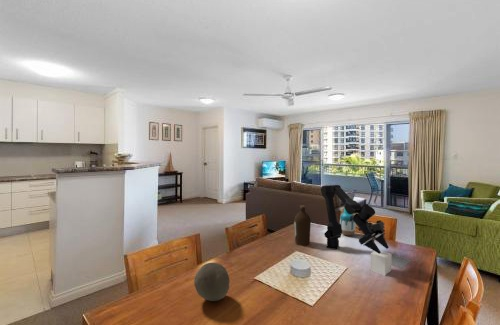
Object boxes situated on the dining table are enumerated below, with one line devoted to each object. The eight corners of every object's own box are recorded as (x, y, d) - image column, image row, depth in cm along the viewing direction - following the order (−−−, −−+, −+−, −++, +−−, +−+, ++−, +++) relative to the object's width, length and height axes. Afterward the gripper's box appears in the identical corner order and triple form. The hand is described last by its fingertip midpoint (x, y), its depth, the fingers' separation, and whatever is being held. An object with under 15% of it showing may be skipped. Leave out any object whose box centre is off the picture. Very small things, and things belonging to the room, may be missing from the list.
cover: (370, 270, 127) (370, 253, 127) (376, 266, 132) (376, 249, 131) (385, 275, 122) (385, 257, 121) (391, 271, 126) (391, 253, 126)
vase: (352, 232, 184) (353, 207, 183) (357, 237, 174) (358, 210, 173) (338, 232, 185) (338, 206, 184) (342, 237, 175) (342, 210, 174)
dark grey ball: (213, 286, 113) (213, 254, 112) (236, 298, 104) (236, 263, 103) (188, 301, 102) (187, 265, 101) (211, 315, 93) (210, 277, 92)
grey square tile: (374, 259, 139) (374, 259, 139) (384, 253, 148) (384, 252, 148) (401, 269, 128) (401, 268, 128) (411, 261, 137) (411, 260, 137)
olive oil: (311, 241, 168) (311, 204, 166) (309, 247, 158) (309, 208, 156) (295, 239, 171) (295, 203, 170) (292, 244, 161) (293, 206, 160)
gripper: (365, 219, 122) (388, 247, 114) (381, 212, 134) (404, 238, 126) (350, 230, 129) (371, 258, 121) (367, 223, 140) (387, 248, 133)
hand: (384, 250), depth 125 cm, fingers open, 9 cm apart
